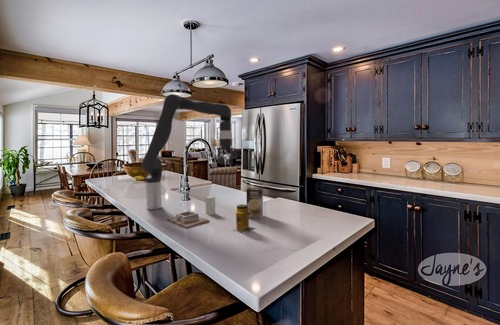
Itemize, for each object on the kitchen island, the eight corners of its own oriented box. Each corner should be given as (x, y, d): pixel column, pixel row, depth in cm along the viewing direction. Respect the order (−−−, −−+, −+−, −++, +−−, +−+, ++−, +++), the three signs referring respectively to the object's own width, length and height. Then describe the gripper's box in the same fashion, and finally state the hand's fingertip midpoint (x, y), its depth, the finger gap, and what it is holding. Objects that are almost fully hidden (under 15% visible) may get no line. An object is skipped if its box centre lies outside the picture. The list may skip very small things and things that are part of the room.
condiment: (232, 230, 127) (232, 205, 126) (244, 225, 133) (243, 202, 132) (243, 233, 122) (243, 208, 121) (255, 228, 129) (254, 204, 128)
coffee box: (246, 218, 145) (245, 189, 143) (247, 215, 151) (246, 187, 150) (262, 218, 144) (262, 190, 142) (263, 215, 150) (262, 187, 149)
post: (205, 213, 155) (205, 197, 154) (211, 212, 158) (210, 195, 157) (209, 214, 152) (209, 198, 152) (215, 213, 155) (214, 196, 154)
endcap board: (166, 220, 144) (166, 212, 144) (188, 214, 154) (188, 207, 153) (186, 228, 130) (185, 220, 130) (208, 221, 140) (208, 214, 139)
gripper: (213, 138, 163) (214, 164, 164) (228, 138, 153) (229, 165, 154) (223, 138, 168) (223, 163, 169) (237, 137, 158) (238, 164, 159)
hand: (226, 164), depth 162 cm, fingers open, 8 cm apart
